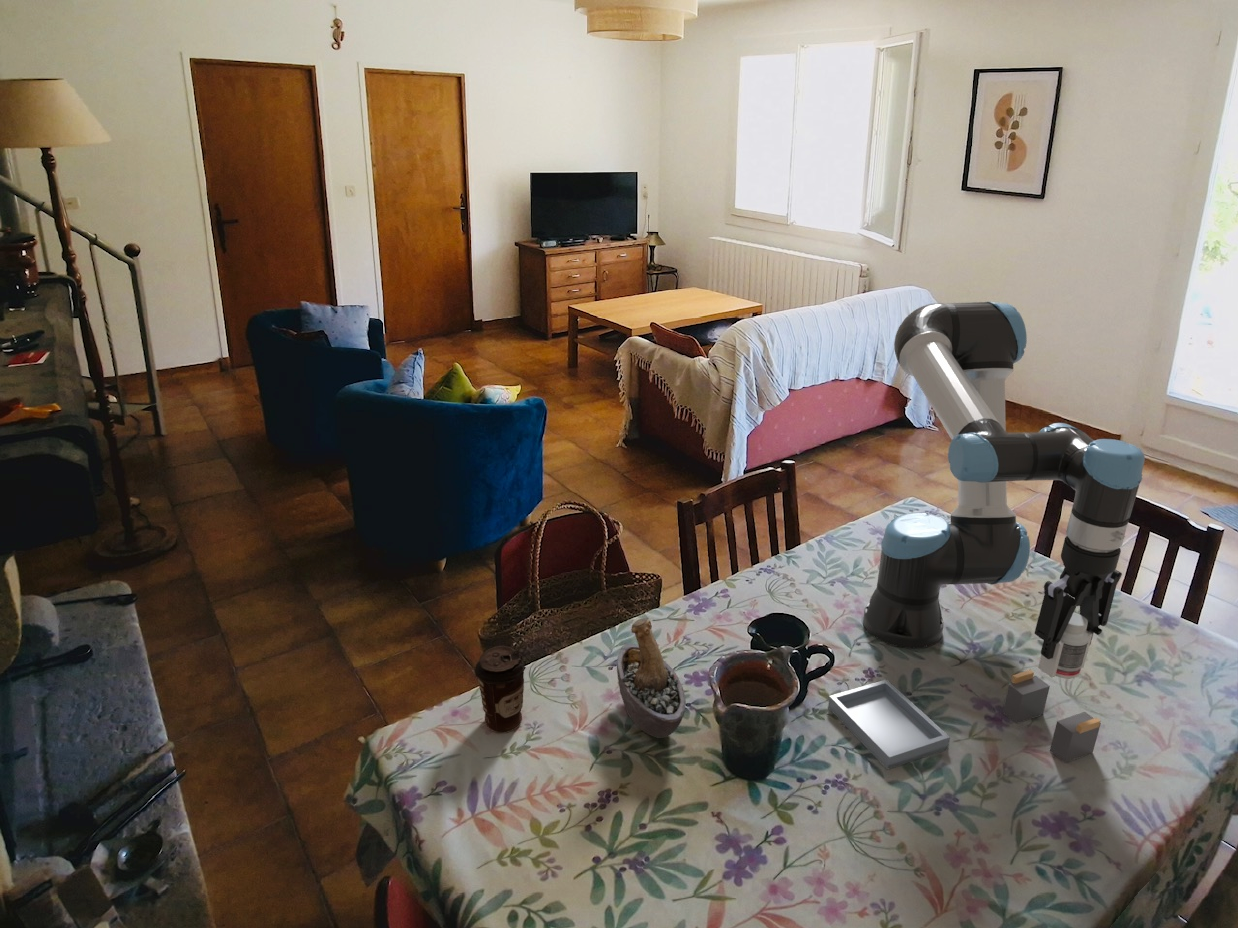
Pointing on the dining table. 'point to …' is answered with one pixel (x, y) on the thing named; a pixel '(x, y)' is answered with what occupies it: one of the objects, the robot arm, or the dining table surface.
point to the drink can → (501, 687)
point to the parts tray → (888, 723)
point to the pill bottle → (1073, 647)
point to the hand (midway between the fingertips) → (1060, 667)
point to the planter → (649, 684)
